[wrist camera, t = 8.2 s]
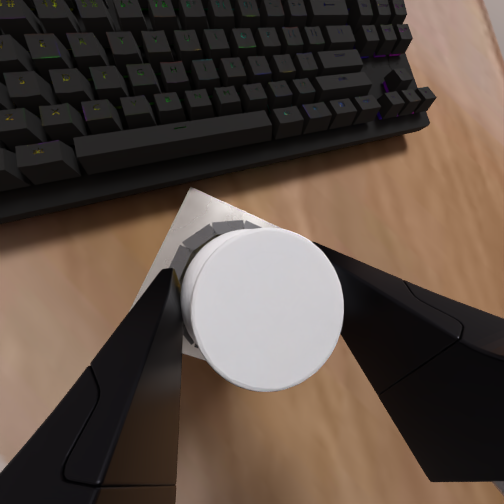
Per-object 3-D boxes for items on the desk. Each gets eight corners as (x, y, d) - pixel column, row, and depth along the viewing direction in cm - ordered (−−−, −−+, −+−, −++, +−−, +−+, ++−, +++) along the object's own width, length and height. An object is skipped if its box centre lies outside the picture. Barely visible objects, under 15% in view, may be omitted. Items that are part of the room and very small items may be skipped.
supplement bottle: (231, 236, 14) (268, 159, 5) (280, 283, 15) (403, 294, 5) (179, 289, 13) (95, 321, 4) (234, 338, 14) (288, 485, 4)
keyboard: (-24, 243, 13) (-163, 226, 8) (-83, 38, 14) (-243, -90, 9) (405, 141, 23) (456, 106, 18) (359, 25, 24) (396, -38, 19)
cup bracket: (268, 373, 16) (291, 413, 11) (126, 328, 14) (84, 354, 9) (309, 246, 18) (343, 236, 14) (192, 193, 16) (184, 161, 12)
